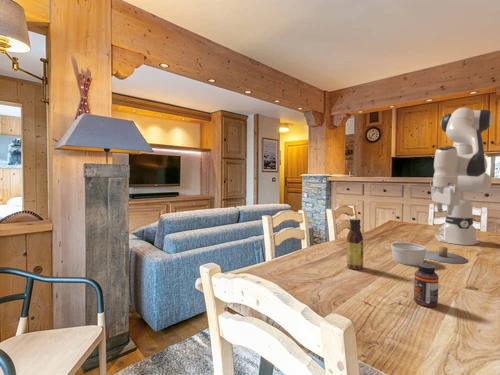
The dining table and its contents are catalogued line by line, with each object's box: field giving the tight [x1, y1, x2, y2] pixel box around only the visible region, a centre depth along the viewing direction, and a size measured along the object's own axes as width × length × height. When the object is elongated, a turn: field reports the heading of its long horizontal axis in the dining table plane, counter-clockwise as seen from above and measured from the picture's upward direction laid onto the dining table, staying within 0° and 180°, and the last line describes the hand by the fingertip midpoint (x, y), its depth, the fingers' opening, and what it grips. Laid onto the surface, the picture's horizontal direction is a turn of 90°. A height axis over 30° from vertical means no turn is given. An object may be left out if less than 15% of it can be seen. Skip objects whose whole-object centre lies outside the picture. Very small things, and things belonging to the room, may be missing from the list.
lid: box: [424, 246, 468, 265], centre depth 124 cm, size 17×17×5 cm
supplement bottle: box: [413, 262, 440, 308], centre depth 80 cm, size 6×6×11 cm
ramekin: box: [390, 241, 427, 266], centre depth 118 cm, size 13×13×7 cm
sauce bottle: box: [346, 218, 364, 270], centre depth 110 cm, size 6×6×20 cm
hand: (444, 213), depth 123 cm, fingers open, 8 cm apart
